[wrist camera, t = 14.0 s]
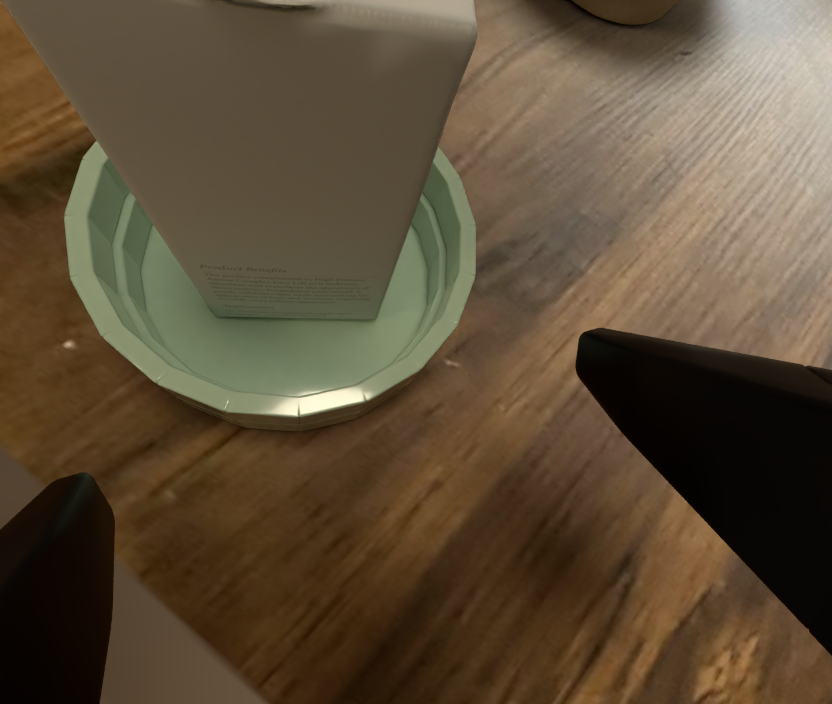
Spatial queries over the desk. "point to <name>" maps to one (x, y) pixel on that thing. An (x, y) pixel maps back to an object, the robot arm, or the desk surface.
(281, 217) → the cosmetic box
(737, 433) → the robot arm
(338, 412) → the shallow bowl
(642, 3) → the planter bowl
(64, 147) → the desk surface
